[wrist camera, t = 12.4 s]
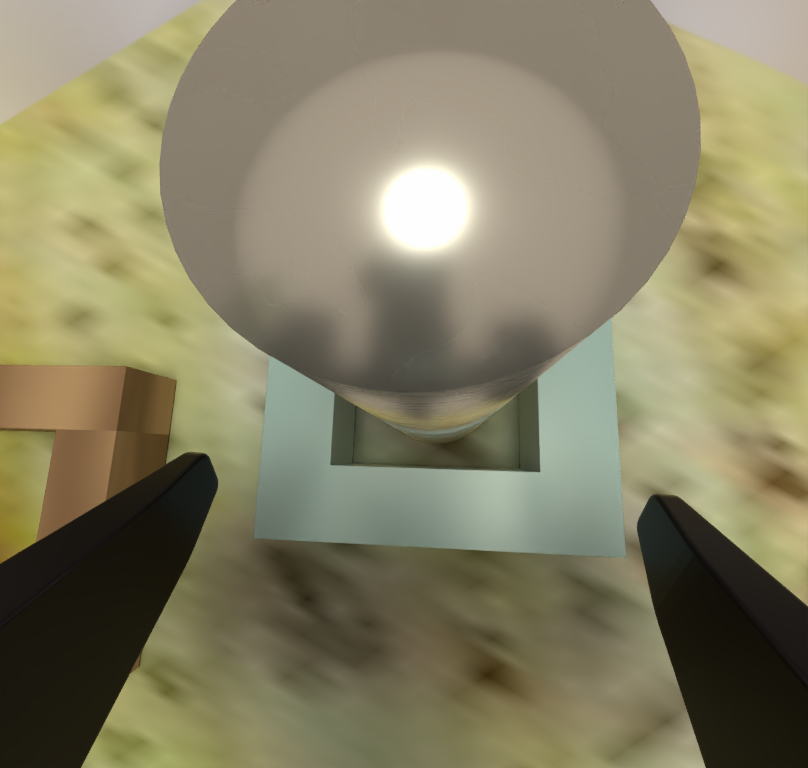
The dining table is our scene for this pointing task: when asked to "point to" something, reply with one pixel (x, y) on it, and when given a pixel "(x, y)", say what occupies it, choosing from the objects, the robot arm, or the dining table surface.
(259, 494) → the grey-teal holder
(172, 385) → the brown wooden square frame
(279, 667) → the dining table surface
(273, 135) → the steel axle
